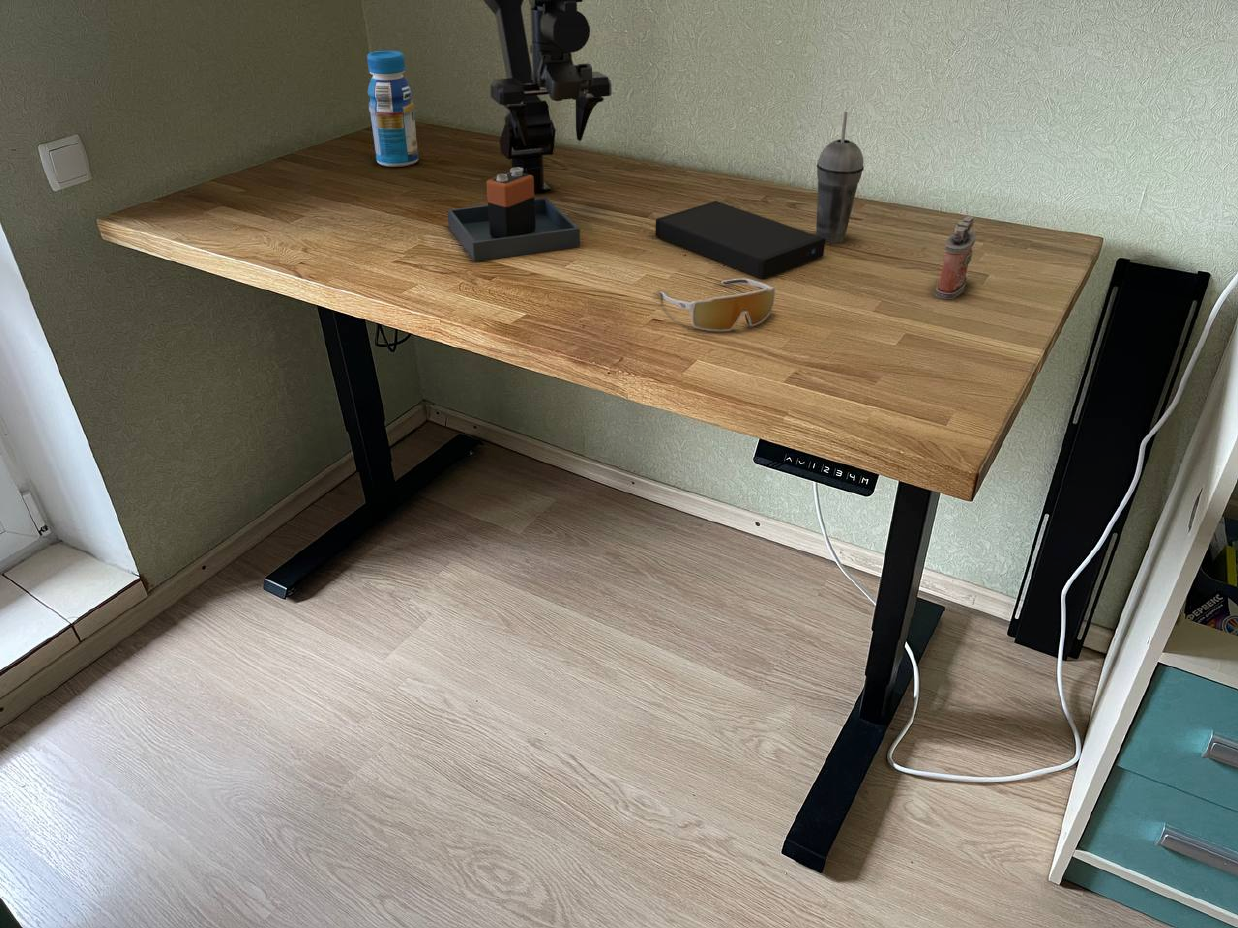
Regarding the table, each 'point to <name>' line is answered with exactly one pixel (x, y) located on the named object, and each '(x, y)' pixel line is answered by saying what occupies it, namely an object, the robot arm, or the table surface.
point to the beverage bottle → (391, 110)
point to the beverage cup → (837, 186)
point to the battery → (511, 204)
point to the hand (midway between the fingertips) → (553, 143)
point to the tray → (547, 236)
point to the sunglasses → (729, 307)
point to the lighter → (956, 260)
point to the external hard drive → (740, 239)
